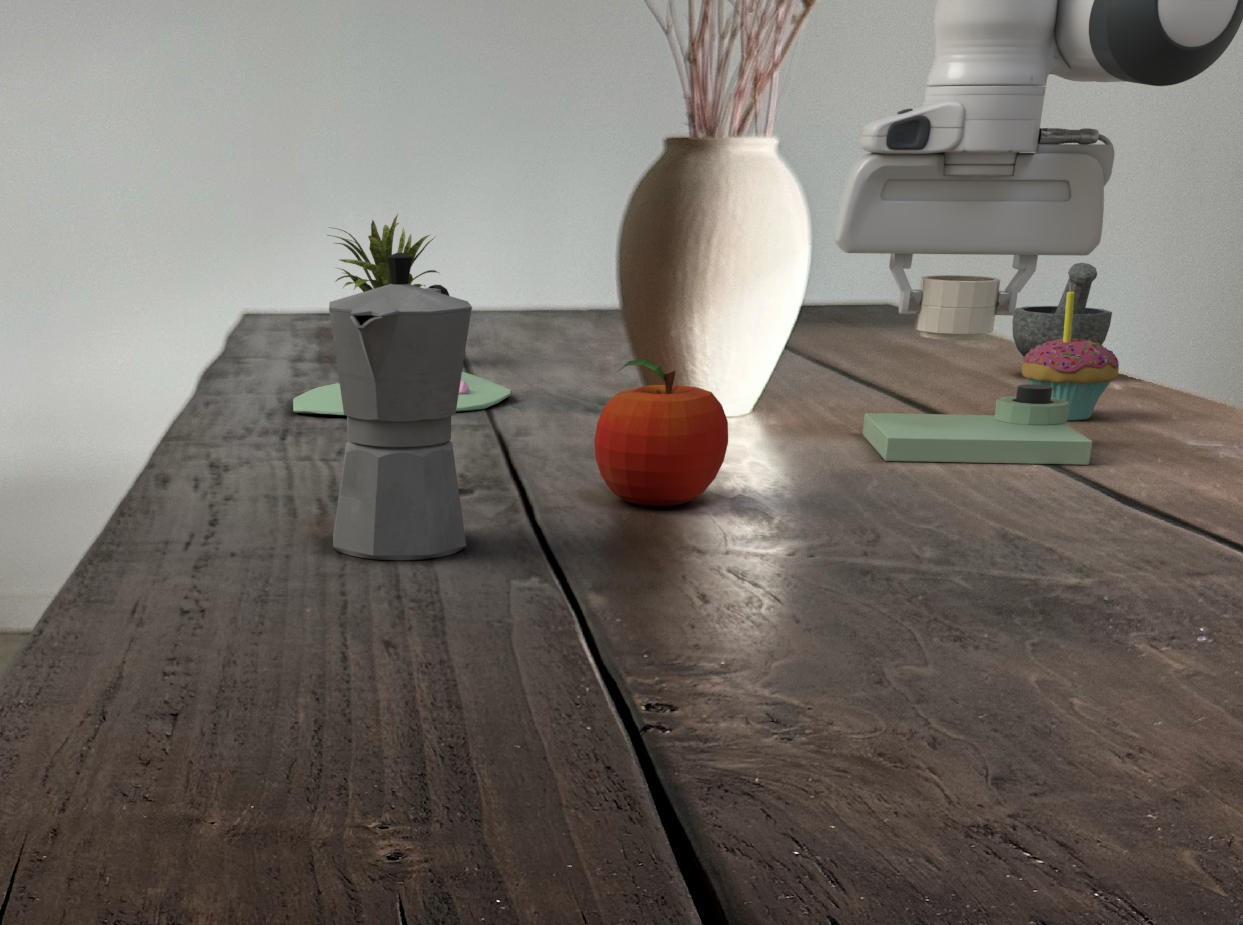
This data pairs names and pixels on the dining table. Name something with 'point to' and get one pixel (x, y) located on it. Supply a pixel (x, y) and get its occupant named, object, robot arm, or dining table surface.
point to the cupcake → (1072, 368)
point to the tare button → (1034, 394)
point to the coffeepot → (399, 418)
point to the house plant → (380, 257)
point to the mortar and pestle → (1062, 315)
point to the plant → (470, 397)
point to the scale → (981, 435)
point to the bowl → (957, 307)
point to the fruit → (661, 441)
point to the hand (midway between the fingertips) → (954, 314)
